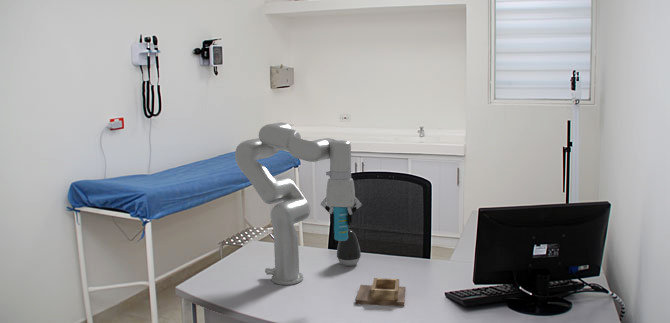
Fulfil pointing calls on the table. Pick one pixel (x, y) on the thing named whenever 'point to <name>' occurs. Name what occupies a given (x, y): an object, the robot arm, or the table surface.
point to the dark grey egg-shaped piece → (349, 250)
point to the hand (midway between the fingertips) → (341, 223)
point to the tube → (340, 223)
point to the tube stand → (382, 293)
